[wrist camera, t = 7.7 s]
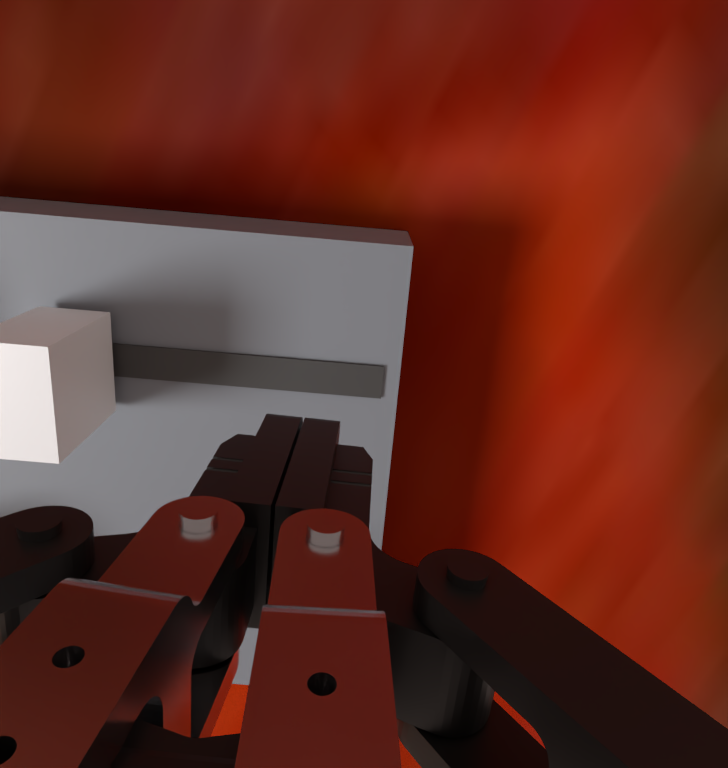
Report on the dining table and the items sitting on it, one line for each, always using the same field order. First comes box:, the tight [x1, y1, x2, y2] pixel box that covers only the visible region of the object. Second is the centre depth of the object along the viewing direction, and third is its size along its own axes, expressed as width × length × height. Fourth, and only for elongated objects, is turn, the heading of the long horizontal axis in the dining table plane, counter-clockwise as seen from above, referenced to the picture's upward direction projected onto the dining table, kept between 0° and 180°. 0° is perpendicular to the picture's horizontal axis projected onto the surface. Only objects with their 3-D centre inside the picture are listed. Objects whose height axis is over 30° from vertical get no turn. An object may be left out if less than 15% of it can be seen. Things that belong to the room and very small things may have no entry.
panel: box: [0, 196, 414, 685], centre depth 21 cm, size 20×16×4 cm
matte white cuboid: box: [0, 306, 116, 464], centre depth 16 cm, size 2×3×4 cm, turn 175°
